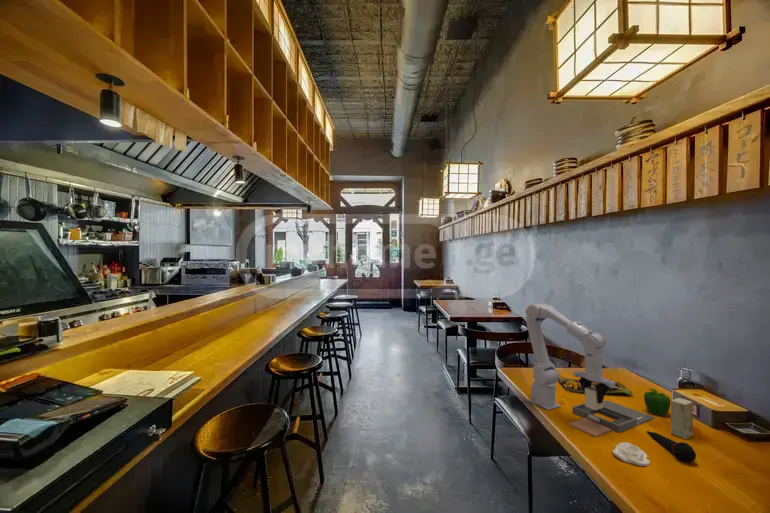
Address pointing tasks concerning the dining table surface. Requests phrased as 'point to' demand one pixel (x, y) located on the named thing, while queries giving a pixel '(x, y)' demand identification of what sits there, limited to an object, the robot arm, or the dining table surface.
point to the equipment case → (613, 416)
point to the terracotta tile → (590, 427)
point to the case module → (592, 398)
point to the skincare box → (682, 418)
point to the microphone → (676, 447)
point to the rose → (631, 454)
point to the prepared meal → (617, 389)
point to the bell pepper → (657, 402)
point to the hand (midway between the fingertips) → (593, 400)
